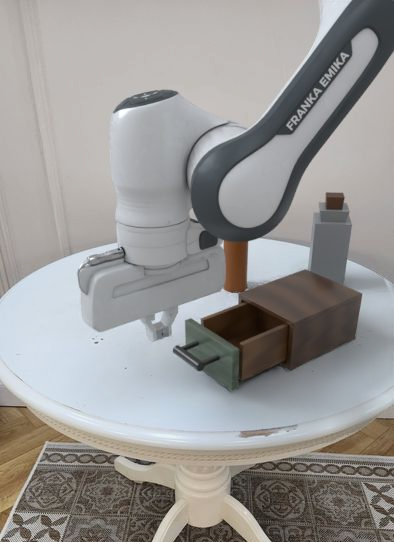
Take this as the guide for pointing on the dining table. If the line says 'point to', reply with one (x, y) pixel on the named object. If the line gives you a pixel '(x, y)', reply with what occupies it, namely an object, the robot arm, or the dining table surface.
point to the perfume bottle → (330, 238)
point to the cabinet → (309, 313)
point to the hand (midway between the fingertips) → (159, 337)
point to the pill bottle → (236, 266)
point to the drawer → (235, 343)
